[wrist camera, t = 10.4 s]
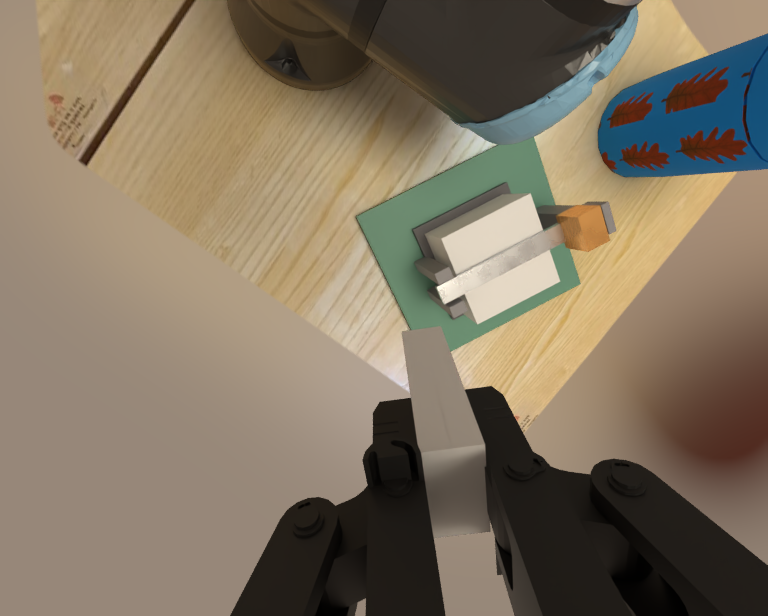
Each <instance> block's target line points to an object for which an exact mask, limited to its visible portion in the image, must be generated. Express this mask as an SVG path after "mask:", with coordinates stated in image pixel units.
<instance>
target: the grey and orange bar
mask: <svg viewBox="0 0 768 616" xmlns="http://www.w3.org/2000/svg"><path fill="white" fill-rule="evenodd" d="M556 219H557V222H558V223H556V224H554V225H552V226H550V227H548V228H546V229H544V230H542V231H540V232H538V233H537V234H535V235H533V236H531V237H529V238H527V239H525V240H523V241H521V242H519V243H517V244H515V245H513V246H511V247H509V248H507V249H506V250H504V251H502V252H500V253H498V254H496V255H494V256H492V257H490V258H488V259H486V260H484V261H482V262H480V263H478V264H477V265H475V266H473V267H471V268H469V269H467V270H465V271H463V272H461V273H459V274H457V275H455V276H453V277H454V278H452V279H450V280H448V281H446V282H444V283H442V284H440V285H436V286H435V288H436V290H437V292H438V294H439V297H440V299H441V301H442V303H443V304H446V303H448V302H450V301H452V300H454V299H456V298H458V297H460V296H462V295H463V294H465V293H467V292H469V291H471V290H473V289H475V288H477V287H479V286H481V285H483V284H485V283H487V282H489V281H490V280H492V279H494V278H496V277H498V276H500V275H502V274H504V273H506V272H508V271H510V270H512V269H514V268H516V267H517V266H519V265H521V264H523V263H525V262H527V261H529V260H531V259H533V258H535V257H537V256H539V255H541V254H542V253H544V252H546V251H548V250H550V249H552V248H554V247H556V246H558V245H560V244H562V243H564V244H565V247H566V248H569V249H575V250H581V251H586V252H589V251H591V250H593V249H595V248H596V247H598V246H600V245H602V244H604V243H606V242H608V241H610V239H609V235H608V232H607V228H606V225H605V221H604V218H603V214H602V210H601V207H600V205H576V206H574V207H572V208H570V209H568V210H566V211H564V212H562V213H560V214H558V215H556Z"/></svg>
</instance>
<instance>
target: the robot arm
mask: <svg viewBox="0 0 768 616" xmlns="http://www.w3.org/2000/svg"><path fill="white" fill-rule="evenodd" d="M641 1H642V0H227V4H228V8H229V12H230V15H231V18H232V21H233V23H234V26H235V28H236V30H237V32H238V34H239V37H240V39H241V41H242V42H243V44H244V46H245V47H246V49H247V50H248V52H249V53H250V55H251V56H252V57H253V58H254V60H255V61H256V62H257V63H258V64H259V65H260V66H261V67H262V68H263V69H264V70H265V71H267V72H268V73H269V74H271V75H272V76H273V77H275V78H276V79H278V80H280V81H282V82H284V83H286V84H288V85H290V86H293V87H296V88H300V89H305V90H328V89H332V88H336V87H339V86H342V85H344V84H346V83H348V82H350V81H351V80H353V79H354V78H356V77H357V76H358V75H359V74H360V73H361V72H363V71H364V69H365V68H366V67H367V66H368V65H369V63H370V62H371V61H372V59H373V60H374V61H375V62H377V63H378V64H380V65H381V66H382V67H384V68H385V69H386V70H388V71H389V72H390V73H392V74H393V75H394V76H396V77H397V78H398V79H400V80H401V81H402V82H404V83H405V84H406V85H408V86H409V87H411V88H412V89H413V90H415V91H416V92H417V93H419V94H420V95H421V96H423V97H424V98H425V99H427V100H428V101H429V102H431V103H432V104H433V105H435V106H436V107H437V108H439V109H440V110H442V111H443V112H444V113H446V114H447V115H448V116H449V117H450V119H451V120H452V121H453V122H454V123H455V124H459V125H460V126H461V127H464V128H468V129H470V130H471V131H473V132H474V133H476V134H477V135H479V136H480V137H482V138H484V139H485V140H487V141H489V142H491V143H495V144H499V145H508V144H515V143H519V142H522V141H525V140H528V139H530V138H532V137H534V136H536V135H538V134H540V133H542V132H543V131H545V130H547V129H548V128H550V127H552V126H553V125H555V124H556V123H557V122H559V121H560V120H561V119H563V118H564V117H566V116H567V115H568V114H569V113H571V112H572V111H573V110H574V109H575V108H577V107H578V106H579V105H580V104H581V103H582V102H583V101H584V100H585V99H586V98H587V97H588V96H589V95H590V94H591V93H592V87H593V85H594V84H595V83H597V82H598V81H600V80H602V79H604V78H605V77H607V76H608V75H609V73H610V72H611V71H612V70H613V69H614V67H615V66H616V65H617V63H618V62H619V61H620V59H621V58H622V56H623V55H624V53H625V52H626V50H627V48H628V46H629V44H630V43H631V41H632V39H633V37H634V34H635V30H636V26H637V22H638V10H637V5H638V4H639V3H640V2H641ZM402 338H403V345H404V352H405V359H406V367H407V374H408V381H409V388H410V395H411V398H406V399H399V400H391V401H384V402H379V404H378V406H377V407H376V409H375V411H374V412H373V444H372V445H371V446H370V447H369V448H368V449H367V450H366V452H365V454H364V457H363V465H364V470H365V474H366V479H367V484H368V486H367V487H366V488H365V489H364V491H362V492H361V493H360V494H359V495H357V496H356V497H354V498H352V499H351V500H348V501H346V502H344V503H341V504H339V505H337V506H335V505H334V504H333V503H331V502H330V501H329V500H327V499H324V498H320V497H316V498H307V499H305V500H302V501H300V502H297V503H296V504H295V505H293V506H292V507H291V508H289V509H288V510H287V511H286V512H285V514H284V515H283V516H282V518H281V519H280V521H279V523H278V525H277V527H276V529H275V531H274V533H273V535H272V536H271V538H270V540H269V542H268V544H267V546H266V548H265V550H264V552H263V554H262V556H261V558H260V560H259V562H258V563H257V565H256V567H255V569H254V571H253V573H252V575H251V577H250V579H249V581H248V583H247V584H246V586H245V588H244V590H243V592H242V594H241V596H240V598H239V600H238V602H237V604H236V606H235V608H234V609H233V611H232V613H231V615H230V616H355V612H356V608H357V602H359V601H361V600H363V599H365V598H366V616H445V610H444V604H443V597H442V590H441V584H440V577H439V570H438V564H437V557H436V550H435V544H434V538H441V537H449V536H457V535H466V534H474V533H482V532H490V522H491V525H492V528H493V531H494V535H495V547H496V565H497V575H501V574H502V575H503V578H504V581H505V585H506V588H507V591H508V595H509V598H510V601H511V605H512V608H513V612H514V615H515V616H768V565H766V564H765V563H764V562H762V561H761V560H760V559H759V558H758V557H757V556H755V555H754V554H753V553H752V552H750V551H749V550H748V549H747V548H745V547H744V546H743V545H742V544H740V543H739V542H738V541H737V540H735V539H734V538H733V537H732V536H730V535H729V534H728V533H727V532H725V531H724V530H723V529H722V528H721V527H719V526H718V525H717V524H715V523H714V522H713V521H712V520H710V519H709V518H708V517H707V516H706V515H704V514H703V513H702V512H700V511H699V510H698V509H697V508H696V507H694V506H693V505H692V504H691V503H690V502H688V501H687V500H686V499H685V498H683V497H682V496H681V495H680V494H678V493H677V492H676V491H675V490H673V489H672V488H671V487H670V486H668V485H667V484H666V483H665V482H663V481H662V480H661V479H660V478H658V477H657V476H656V475H655V474H653V473H652V472H651V471H649V470H647V469H646V468H644V467H643V466H641V465H639V464H636V463H633V462H630V461H627V460H619V459H610V460H603V461H601V462H599V463H598V464H596V465H595V466H594V467H593V469H592V471H591V475H590V474H582V473H574V472H568V471H563V470H559V469H556V468H553V467H551V466H550V465H549V464H548V463H547V462H546V461H545V459H544V458H543V457H541V456H539V455H538V454H536V453H534V452H533V451H532V449H531V447H530V445H529V443H528V442H527V440H526V438H525V436H524V434H523V432H522V430H521V428H520V426H519V424H518V422H517V421H516V419H515V417H514V415H513V413H512V411H511V409H510V408H509V405H508V403H507V401H506V400H505V398H504V396H503V394H501V393H500V392H499V391H497V390H496V389H495V388H493V387H492V386H489V387H481V388H474V389H466V390H465V389H464V387H463V384H462V381H461V379H460V376H459V373H458V371H457V368H456V365H455V363H454V360H453V357H452V355H451V352H450V349H449V347H448V344H447V341H446V338H445V336H444V333H443V330H442V328H441V326H438V327H431V328H423V329H416V330H409V331H402Z"/></svg>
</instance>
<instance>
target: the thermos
mask: <svg viewBox="0 0 768 616" xmlns="http://www.w3.org/2000/svg"><path fill="white" fill-rule="evenodd" d="M598 146H599V150H600V153H601V156H602V158H603V161H604V163H605V164H606V165H607V166H608V167H609V168H610V169H611V170H612V171H613V172H614V173H617V174H619V175H621V176H624V177H666V176H679V175H693V174H707V173H720V172H734V171H748V170H761V169H768V34H765V35H762V36H760V37H757V38H755V39H752V40H749V41H747V42H744V43H741V44H738V45H736V46H733V47H730V48H727V49H725V50H722V51H719V52H717V53H714V54H711V55H709V56H706V57H703V58H701V59H698V60H695V61H692V62H690V63H687V64H684V65H682V66H679V67H676V68H674V69H671V70H668V71H666V72H663V73H661V74H658V75H656V76H653V77H651V78H648V79H646V80H644V81H642V82H639V83H637V84H635V85H633V86H630V87H628V88H626V89H624V90H622V91H621V92H620V93H619V94H618V95H617V96H616V97H614V98H613V99H612V100H611V101H610V103H609V105H608V106H607V108H606V110H605V111H604V113H603V115H602V118H601V122H600V126H599V130H598Z"/></svg>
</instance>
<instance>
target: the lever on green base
mask: <svg viewBox="0 0 768 616" xmlns="http://www.w3.org/2000/svg"><path fill="white" fill-rule="evenodd" d="M583 205H600V207H601V210H602V214H603V218H604V221H605V225H606V228H607V232H608V234H611V233H613V232H615V231H616V227H615V223H614V220H613V216H612V213H611V209H610V205H609V202H586V203H585V204H583ZM572 207H574V206H561V205H555V202H554V199H553V196H552V193H551V189H550V186H549V183H548V180H547V177H546V174H545V171H544V168H543V164H542V161H541V158H540V155H539V152H538V149H537V146H536V142H535V139H534V137H532V138H530V139H528V140H525V141H522V142H519V143H515V144H508V145H497V146H495V147H493V148H491V149H489V150H487V151H485V152H483V153H481V154H479V155H477V156H475V157H473V158H471V159H469V160H467V161H465V162H463V163H461V164H459V165H457V166H455V167H453V168H451V169H449V170H447V171H445V172H443V173H441V174H439V175H437V176H435V177H433V178H431V179H429V180H427V181H425V182H423V183H421V184H419V185H417V186H415V187H413V188H411V189H409V190H407V191H405V192H403V193H401V194H399V195H397V196H395V197H393V198H391V199H389V200H387V201H385V202H384V203H382V204H380V205H378V206H376V207H374V208H372V209H370V210H368V211H366V212H364V213H362V214H360V215H358V216H356V218H357V220H358V222H359V224H360V226H361V228H362V230H363V232H364V234H365V236H366V238H367V241H368V243H369V245H370V247H371V249H372V251H373V253H374V255H375V257H376V259H377V261H378V263H379V265H380V267H381V269H382V271H383V273H384V276H385V278H386V280H387V282H388V284H389V286H390V288H391V290H392V292H393V294H394V296H395V298H396V300H397V302H398V304H399V306H400V308H401V311H402V313H403V315H404V317H405V319H406V321H407V323H408V325H409V327H410V329H411V330H416V329H423V328H431V327H438V326H441V328H442V330H443V333H444V336H445V338H446V341H447V344H448V347H449V349H450V352H451V351H453V350H455V349H457V348H459V347H461V346H462V345H464V344H466V343H468V342H470V341H472V340H474V339H476V338H478V337H480V336H482V335H484V334H485V333H487V332H489V331H491V330H493V329H495V328H497V327H499V326H501V325H503V324H505V323H507V322H509V321H510V320H512V319H514V318H516V317H518V316H520V315H522V314H524V313H526V312H528V311H530V310H532V309H533V308H535V307H537V306H539V305H541V304H543V303H545V302H547V301H549V300H551V299H553V298H555V297H557V296H558V295H560V294H562V293H564V292H566V291H568V290H570V289H572V288H574V287H576V286H578V285H580V284H581V283H580V280H579V277H578V274H577V271H576V268H575V265H574V261H573V258H572V255H571V252H570V249H569V248H566V247H565V244H564V243H562V244H560V245H558V246H556V247H554V248H552V249H550V250H548V251H546V252H544V253H542V254H541V255H539V256H537V257H535V258H533V259H531V260H529V261H527V262H525V263H523V264H521V265H519V266H517V267H516V268H514V269H512V270H510V271H508V272H506V273H504V274H502V275H500V276H498V277H496V278H494V279H492V280H490V281H489V282H487V283H485V284H483V285H481V286H479V287H477V288H475V289H473V290H471V291H469V292H467V293H465V294H463V295H462V296H460V297H458V298H456V299H454V300H452V301H450V302H448V303H446V304H443V303H442V301H441V299H440V297H439V294H438V292H437V290H436V288H435V286H436V285H440V284H442V283H444V282H446V281H448V280H450V279H452V278H454V277H453V276H455V275H457V274H459V273H461V272H463V271H465V270H467V269H469V268H471V267H473V266H475V265H477V264H478V263H480V262H482V261H484V260H486V259H488V258H490V257H492V256H494V255H496V254H498V253H500V252H502V251H504V250H506V249H507V248H509V247H511V246H513V245H515V244H517V243H519V242H521V241H523V240H525V239H527V238H529V237H531V236H533V235H535V234H537V233H538V232H540V231H542V230H544V229H546V228H548V227H550V226H552V225H554V224H556V223H558V222H557V219H556V215H558V214H560V213H562V212H564V211H566V210H568V209H570V208H572Z"/></svg>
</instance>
